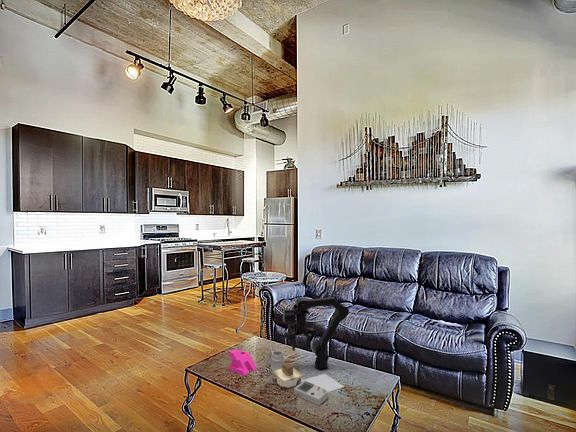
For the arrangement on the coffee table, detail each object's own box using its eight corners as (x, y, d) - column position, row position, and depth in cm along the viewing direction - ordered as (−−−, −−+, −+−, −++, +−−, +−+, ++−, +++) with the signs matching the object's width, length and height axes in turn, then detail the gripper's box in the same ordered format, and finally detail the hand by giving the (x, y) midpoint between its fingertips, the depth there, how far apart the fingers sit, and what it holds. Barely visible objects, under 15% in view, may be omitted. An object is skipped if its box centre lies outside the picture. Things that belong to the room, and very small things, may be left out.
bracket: (229, 370, 182) (229, 351, 183) (241, 363, 191) (242, 346, 191) (245, 376, 176) (245, 357, 176) (257, 369, 184) (257, 351, 184)
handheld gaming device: (318, 407, 148) (318, 399, 148) (293, 395, 157) (293, 387, 157) (329, 397, 155) (329, 390, 154) (304, 387, 164) (304, 379, 164)
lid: (291, 367, 177) (291, 358, 177) (303, 376, 167) (303, 367, 167) (271, 372, 171) (272, 363, 171) (283, 382, 161) (283, 372, 161)
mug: (277, 375, 178) (277, 353, 178) (262, 368, 186) (263, 347, 186) (287, 370, 183) (287, 349, 183) (272, 363, 191) (272, 343, 191)
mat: (324, 374, 179) (324, 373, 179) (344, 387, 165) (344, 386, 165) (300, 381, 171) (300, 380, 171) (318, 396, 157) (318, 394, 157)
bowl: (290, 376, 176) (290, 368, 176) (300, 385, 167) (300, 376, 167) (274, 381, 170) (274, 372, 171) (283, 390, 162) (284, 381, 162)
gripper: (306, 315, 196) (306, 341, 196) (279, 319, 186) (279, 347, 186) (317, 320, 186) (317, 347, 186) (289, 325, 177) (289, 354, 176)
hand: (300, 348), depth 184 cm, fingers open, 9 cm apart
